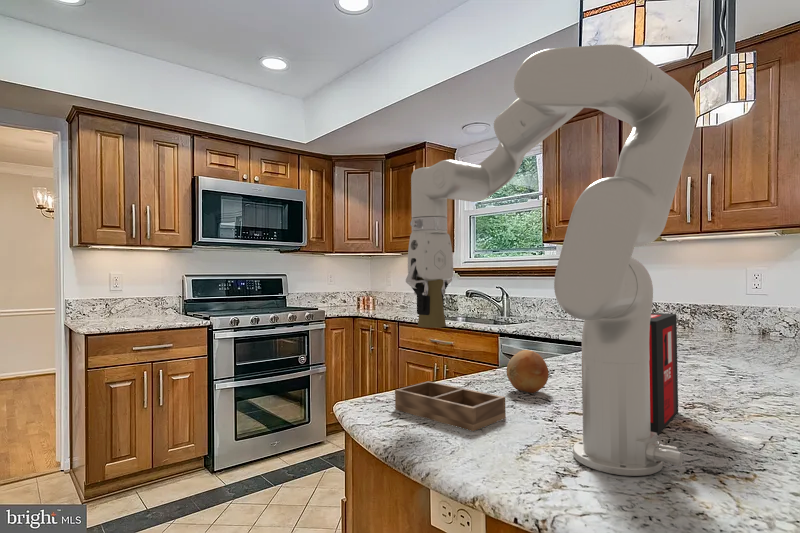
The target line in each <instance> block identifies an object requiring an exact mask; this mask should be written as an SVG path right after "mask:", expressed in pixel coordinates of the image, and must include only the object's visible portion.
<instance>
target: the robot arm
mask: <svg viewBox="0 0 800 533" xmlns="http://www.w3.org/2000/svg"><path fill="white" fill-rule="evenodd" d="M513 89H514V92H515V93H514V94H516V97H517V99H515V100H514V101H513V102H512V103H511V104H510V105H509V106H507V107H506V108H505V109H504V110H503V111H502V112H501V113H499V114H498V115H497V116H496V118H494V122H493V130H494V134H495V136H496V138H497V140H498V141H499V143H498V145H497V147H496V148H495V149H494V151H492V153H491V154H489V156H487V157H486V158H485V159H484V160H482V161H481V162H480V163H479V164H473V163H472V164H471V163H468V162H464V161H458V160H454V159H444V160H440V161H438V162H437V163H435V164H433V165H431V166H426V167H425V166H424V167H419V168H416V169H414V170H413V171H412V173H411V176H410V177H411V178H410V180H411V181H410V183H411V184H410V187H411V189H410V191H411V194H410V195H411V196H410V199H411V220H410V227H411V233H410V236H409V242H408V248H407V249H408V250H407V251H408V252H407V276H406V279H405V283H406V284H407V285H408V286H410V287H411V289H412V290H413V293H414V296H416V314H417V315H418V316H419V315H429V314H430V296H427V294H428V286H429V285H428V281H434V280H439V279H442V280H443V281H444V284H443V287H442V289H441V294H442V301H443V302H444V295H445V294H446V289H447V287H448V285H450V283H452V282H453V278H454V256H453V248H452V246H453V245H452V240H451V236H450V234H449V233H448V200H455V201H456V200H457V201H464V202H471V203H472V202H473V203H477V202H481V201H483V200H486V199H487V198H489V197H491V196H492V195H494V194H495V193H497V192H498V191H499V190H500V189H502V188H504V186H506V185H507V184H508V183H509V182H510V181H511V180H512V179H513V178H514V176H516V174H517V172H518V170H519V169H520V168H521V166H522V163H523V161H524V158H525V155H526V154H528V152H530V151H531V150H532V149H534V148H535V147H536V146H538V145H539V144H540V143H542V142H543V141H544V140H545V139H546V138H548V137H549V136H550V135H552V134H553V133H554V132H556V131H557V130H558V129H560V128H561V127H562V126H563V125H564V124H566V123H567V122H569V120H572V119H573V117H576V115H578V113H580V112H581V111H582V110H584V109H595V110H598V111H600V112H603V113H605V114H607V115H609V116H610V117H613V118H615V119H617V120H620V121H622V122H624V123H627V124H629V126H630V127H631V133H630V134H629V136H628V137H627V139H626V141H625V143H624V144H623V146H622V148H621V151H620V154H619V158H618V162H617V167H616V170H615V172H614V175H613V176H609V177H604V178H601V179H598V180H596V181H594V182H593V183H591V184H590V185H589V186H587V187H586V188H585V190H583V191H582V193H581V194H580V195H579V197H578V199H577V200H576V202H575V204H574V206H573V208H572V211H571V215H570V218H569V221H568V225H567V227H566V232H565V235H564V240H563V243H562V247H561V250H560V253H559V254H560V255H559V258H558V262H557V265H556V269H555V274H554V281H553V285H554V286H553V289H554V295H555V299H556V302H557V303H558V305H559V306H560V307H561V308H560V309H562V310H563V311H564V312H565V313H566V314H567V315H569V316H571V317H573V318H576V319H578V320H583V321H584V322H583V327H582V331H581V332H582V333H581V335H582V336H581V385H582V386H581V392H582V394H581V397H582V400H581V402H582V407H581V408H582V440H579V441H577V442H576V443H574V444H573V446H572V456H573V457H574V459H575V460H576V461H577V462H579V463H580V464H582V465H583V466H586V467H588V468H590V469H593V470H595V471H600V472H603V473H607V474H611V475H617V476H625V477H626V476H628V477H629V476H630V477H638V476H639V477H641V476H642V477H643V476H648V475H649V476H650V475H652V474H653V475H654V474H657V473H658V472H660V471H661V470H662V468H664V463H665V464H668V465H673V466H677V467H682V465H683V462H684V454H683V452H681V451H679V448H678V447H676V446H673V445H667V444H662V443H661V442H660V441H659V440H658V435H657V433H655V432H651V430H650V376H649V360H650V356H649V333H650V318H651V313H652V310H653V302H654V288H653V281H652V277H651V275H650V273H649V271H648V270H647V268H646V266H645V265H643V263H641V262H640V261H639V260H637V259H636V258H634V257H632V256H633V253H634V249H635V248H636V247H637V248H639V247H644V246H647V245H649V244H651V243H653V242H654V241H656V240H657V239H658V238H659V237H660V236H661V235H662V233H663V232H664V230H665V227H666V225H667V221H668V218H669V215H670V211H671V208H672V204H673V201H674V199H675V194H676V192H677V188H678V186H679V182H680V178H681V174H682V170H683V166H684V165H685V164H684V163H685V161H686V157H687V154H688V151H689V147H690V145H691V141H692V138H693V135H694V130H695V128H696V127H695V126H696V119H697V118H696V117H697V112H696V107H695V103H694V100H693V98H692V96H691V94H690V92H689V91H688V89H686V87H684V86H683V85H682V84H681V83H680V82H679V81H677V80H676V79H675V78H674V77H672V76H670V75H669V74H667V72H665V71H663V70H662V69H661V68H660V67H659V66H657V65H655V64H654V63H653V62H652V61H649V59H647V58H646V57H644V55H642V54H641V53H640V52H638V51H637V50H635V49H633V48H632V47H629V46H626V45H621V44H596V45H595V44H594V45H584V46H569V47H567V46H566V47H565V46H564V47H555V48H546V49H543V50H540V51H537V52H535V53H533V54H531V55H530V56H529V57H527V58H526V59H525V60H524V61H523V62H522V63H521V64H520V66H519V68H518V69H517V70H516V73H515V77H514V80H513ZM421 277H422V278H423V279H424V280H420V278H421ZM420 283H423V287H422V285H421V284H420ZM443 308H444V303H443Z"/></svg>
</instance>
